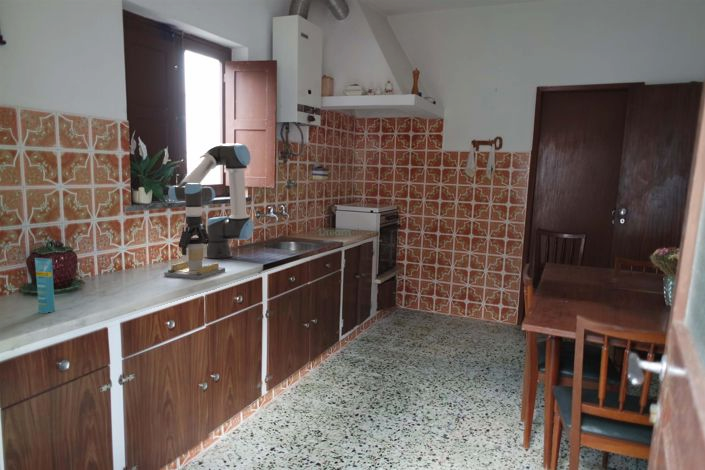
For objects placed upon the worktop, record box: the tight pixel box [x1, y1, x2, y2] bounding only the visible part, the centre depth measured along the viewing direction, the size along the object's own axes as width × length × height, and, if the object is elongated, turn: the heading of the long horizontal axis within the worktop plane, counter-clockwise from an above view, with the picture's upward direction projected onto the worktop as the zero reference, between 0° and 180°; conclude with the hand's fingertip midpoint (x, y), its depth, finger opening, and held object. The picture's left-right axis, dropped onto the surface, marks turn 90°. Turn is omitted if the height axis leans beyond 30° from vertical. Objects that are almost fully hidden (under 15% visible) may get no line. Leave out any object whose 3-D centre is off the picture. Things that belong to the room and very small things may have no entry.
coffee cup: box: [187, 237, 205, 270], centre depth 234 cm, size 9×9×15 cm
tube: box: [34, 257, 56, 314], centre depth 170 cm, size 7×5×19 cm, turn 81°
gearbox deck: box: [163, 261, 226, 281], centre depth 235 cm, size 20×20×5 cm
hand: (195, 259), depth 235 cm, fingers open, 13 cm apart
